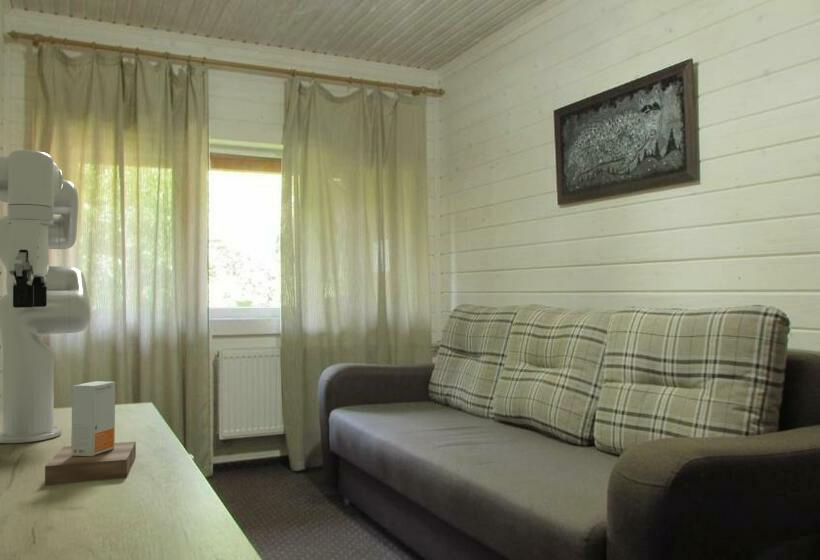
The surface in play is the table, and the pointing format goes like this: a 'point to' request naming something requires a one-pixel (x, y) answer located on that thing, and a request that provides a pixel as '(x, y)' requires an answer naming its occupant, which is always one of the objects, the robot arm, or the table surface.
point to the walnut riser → (91, 465)
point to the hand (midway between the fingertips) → (30, 307)
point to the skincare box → (93, 418)
